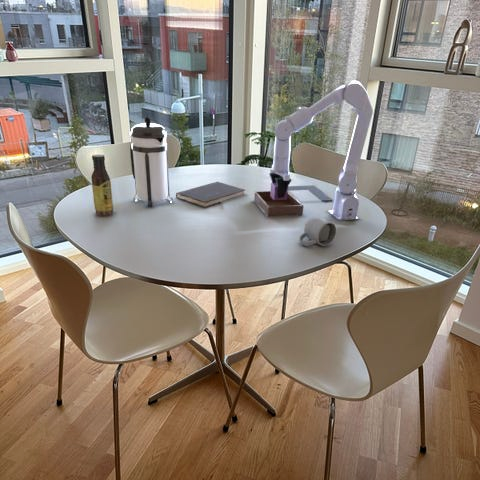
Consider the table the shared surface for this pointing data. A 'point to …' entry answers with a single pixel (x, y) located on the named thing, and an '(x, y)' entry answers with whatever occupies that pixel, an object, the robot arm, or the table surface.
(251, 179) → the table surface
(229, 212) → the table surface
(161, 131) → the coffee press
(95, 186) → the sauce bottle
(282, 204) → the brown wooden tray
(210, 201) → the hardcover book
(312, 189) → the mat
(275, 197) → the block
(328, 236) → the ceramic mug
